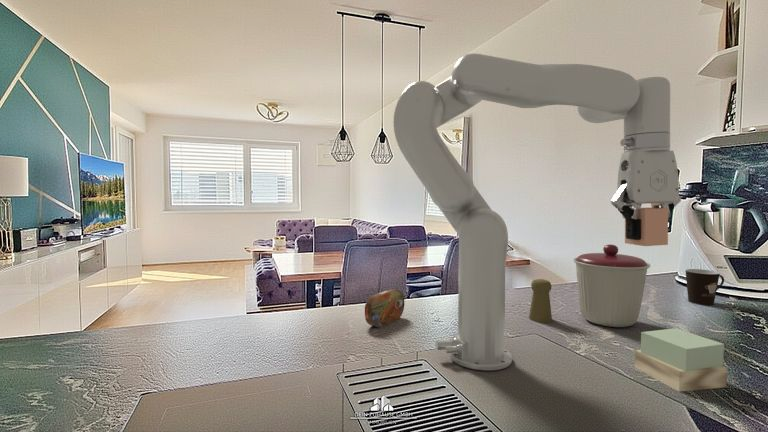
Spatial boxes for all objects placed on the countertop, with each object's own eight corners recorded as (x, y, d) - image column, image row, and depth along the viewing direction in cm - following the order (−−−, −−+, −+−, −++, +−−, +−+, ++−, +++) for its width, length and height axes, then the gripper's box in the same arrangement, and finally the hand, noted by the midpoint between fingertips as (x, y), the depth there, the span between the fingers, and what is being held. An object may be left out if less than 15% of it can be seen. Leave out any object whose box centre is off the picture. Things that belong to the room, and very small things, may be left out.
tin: (371, 331, 103) (371, 298, 103) (362, 328, 105) (362, 296, 105) (405, 316, 115) (405, 287, 115) (396, 314, 117) (396, 285, 116)
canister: (557, 315, 116) (559, 242, 115) (604, 309, 122) (606, 239, 121) (612, 336, 99) (615, 250, 98) (664, 328, 105) (667, 247, 104)
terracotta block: (645, 246, 77) (645, 209, 77) (624, 243, 82) (624, 208, 81) (667, 244, 78) (668, 208, 77) (646, 241, 83) (646, 207, 82)
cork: (548, 316, 116) (549, 277, 115) (555, 322, 110) (556, 282, 109) (526, 315, 116) (527, 277, 116) (532, 322, 110) (532, 281, 110)
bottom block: (678, 393, 72) (679, 371, 72) (634, 369, 82) (635, 350, 82) (726, 389, 74) (727, 367, 73) (677, 366, 84) (678, 346, 83)
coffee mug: (690, 305, 127) (692, 273, 127) (679, 298, 135) (680, 268, 135) (735, 308, 124) (737, 275, 123) (721, 300, 132) (723, 270, 131)
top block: (685, 371, 72) (686, 349, 72) (640, 352, 80) (641, 332, 80) (722, 365, 74) (724, 344, 74) (675, 347, 83) (676, 328, 83)
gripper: (622, 142, 74) (622, 243, 74) (701, 141, 77) (701, 238, 78) (593, 147, 81) (594, 238, 82) (667, 146, 84) (667, 234, 85)
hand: (646, 237), depth 80 cm, fingers closed on terracotta block, 5 cm apart
